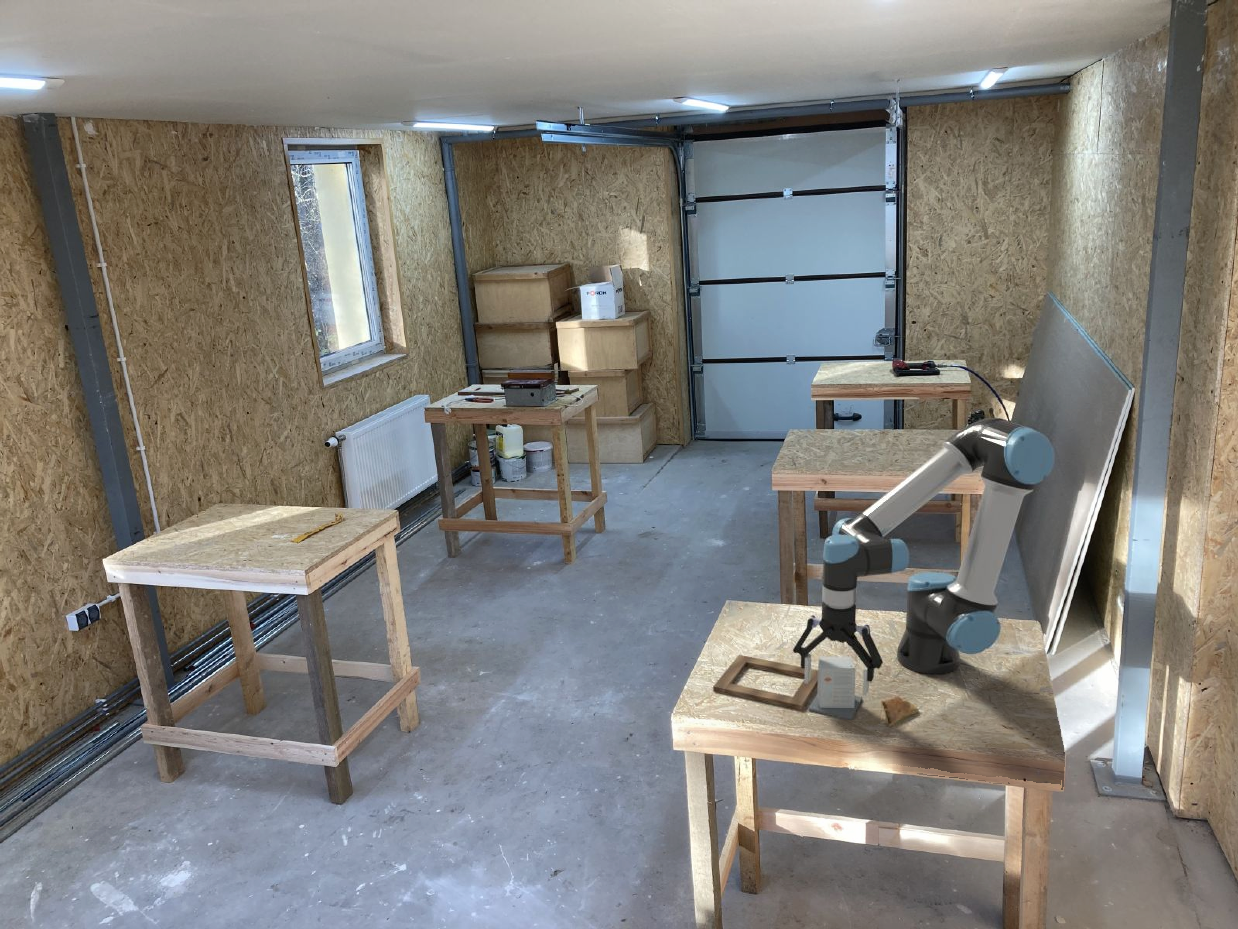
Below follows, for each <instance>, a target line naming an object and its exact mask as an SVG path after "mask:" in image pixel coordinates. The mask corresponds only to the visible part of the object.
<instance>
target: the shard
mask: <svg viewBox="0 0 1238 929" xmlns="http://www.w3.org/2000/svg"><path fill="white" fill-rule="evenodd" d="M880 705H881V707H882V710H883V712H884V713H883V714H884V716H885V720H886V724H887V725H888V727H889V728H891V727H893V726H895V725H896V724H897V723H898V722H901V721H902V720H903V719H906V718H908V717H909V716H912V715H914V714H917V713H918V712H919V708H918V707H917V706H915V705H914V704H913V703H911V702H910V701H907V700H906V699H903V698H901V697H899V696H893V697H891V698H890V699H886V700H882V701H880ZM896 722H897V723H896Z"/></svg>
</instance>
